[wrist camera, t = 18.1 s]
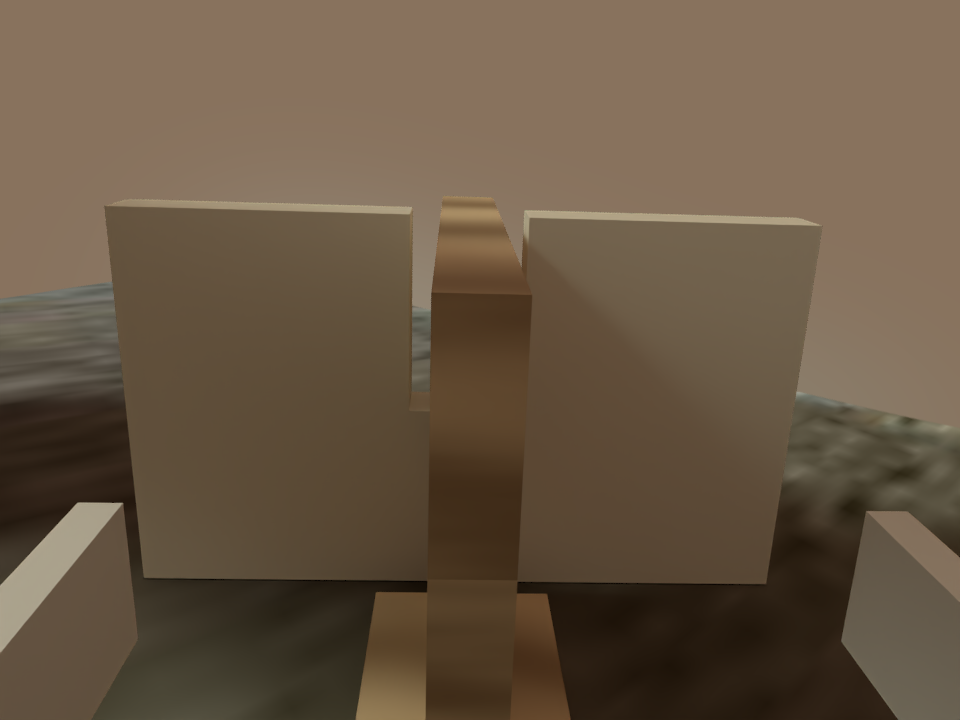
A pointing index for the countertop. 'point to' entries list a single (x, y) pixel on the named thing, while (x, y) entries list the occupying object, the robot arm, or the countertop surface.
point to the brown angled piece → (470, 506)
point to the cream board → (406, 415)
